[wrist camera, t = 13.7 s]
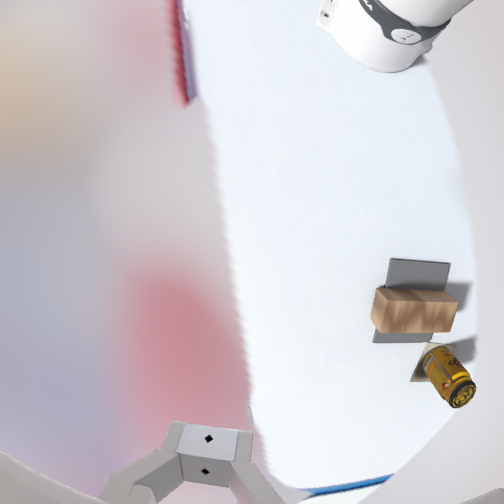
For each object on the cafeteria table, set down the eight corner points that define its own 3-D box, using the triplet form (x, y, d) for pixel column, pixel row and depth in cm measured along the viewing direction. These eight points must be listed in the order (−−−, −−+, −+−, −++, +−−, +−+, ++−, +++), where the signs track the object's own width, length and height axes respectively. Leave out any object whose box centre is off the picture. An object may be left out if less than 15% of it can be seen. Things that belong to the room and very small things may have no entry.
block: (387, 300, 39) (460, 302, 39) (376, 288, 44) (445, 291, 43) (379, 333, 40) (451, 332, 40) (370, 318, 45) (438, 318, 45)
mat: (390, 258, 43) (391, 259, 43) (447, 263, 43) (449, 264, 42) (372, 341, 47) (373, 343, 46) (427, 340, 46) (429, 342, 46)
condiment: (455, 345, 46) (487, 379, 35) (437, 382, 48) (462, 419, 37) (426, 341, 46) (457, 379, 35) (408, 380, 48) (432, 421, 37)
